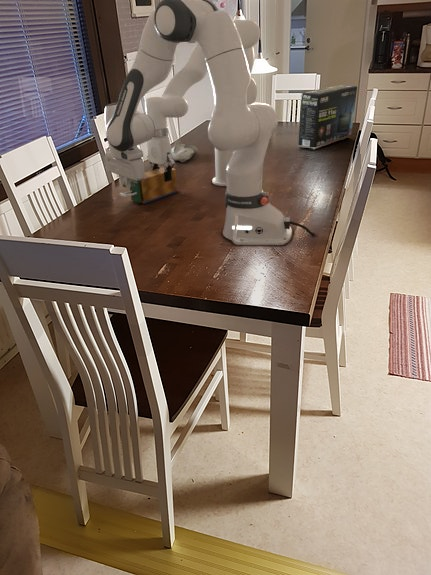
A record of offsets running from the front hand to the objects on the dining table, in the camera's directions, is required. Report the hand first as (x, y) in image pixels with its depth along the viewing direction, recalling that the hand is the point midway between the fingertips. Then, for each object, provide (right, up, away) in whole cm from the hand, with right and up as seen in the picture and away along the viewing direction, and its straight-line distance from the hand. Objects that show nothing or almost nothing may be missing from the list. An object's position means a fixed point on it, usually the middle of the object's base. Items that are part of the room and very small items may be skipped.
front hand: (126, 187), depth 172 cm
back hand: (+12, +6, +10) cm, 17 cm away
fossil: (+15, +27, +58) cm, 66 cm away
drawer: (+6, -2, +8) cm, 10 cm away
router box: (+92, +39, +73) cm, 124 cm away
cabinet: (+10, -1, +11) cm, 15 cm away
